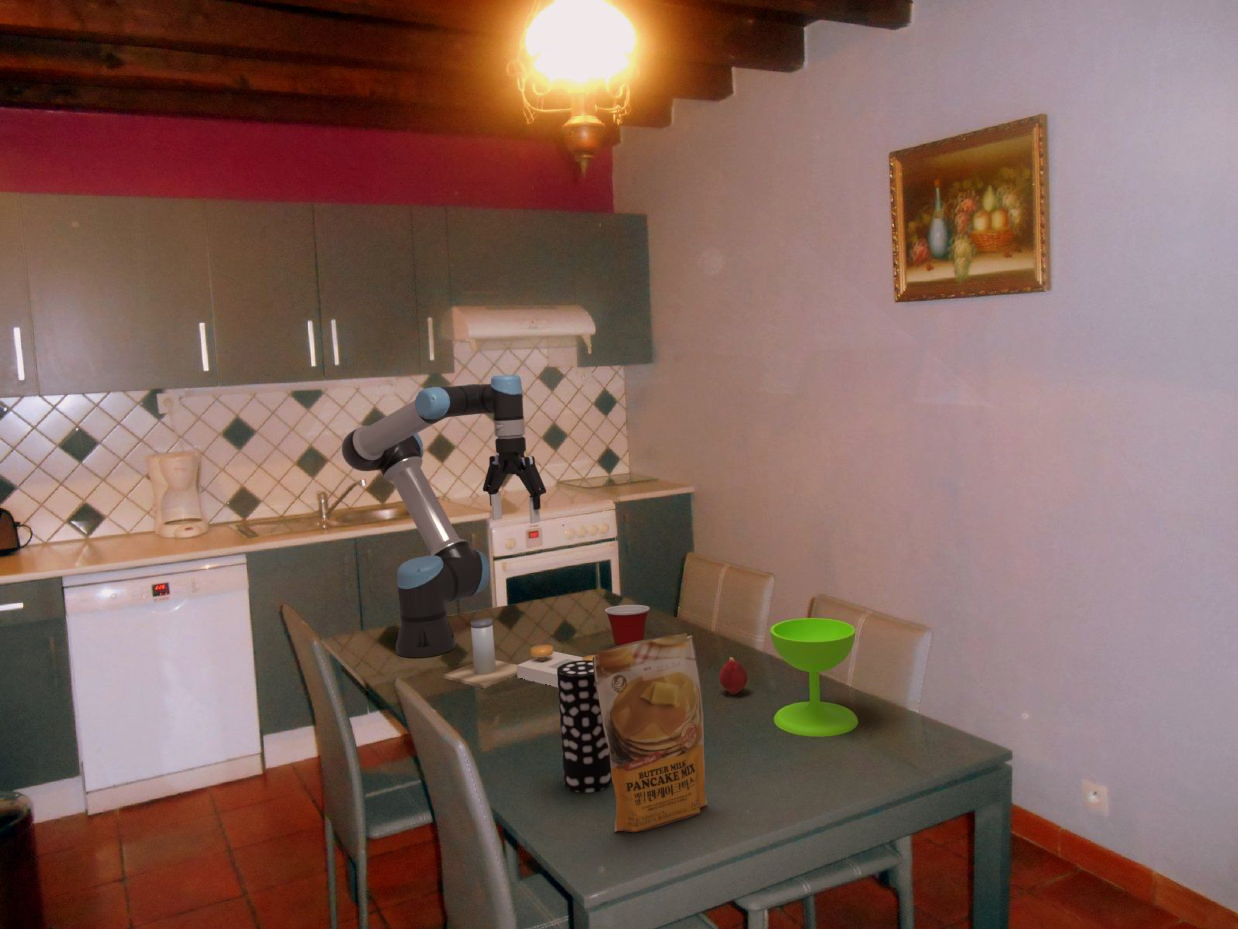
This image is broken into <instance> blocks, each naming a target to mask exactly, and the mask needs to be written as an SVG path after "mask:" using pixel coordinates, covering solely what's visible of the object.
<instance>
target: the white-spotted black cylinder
mask: <svg viewBox="0 0 1238 929" xmlns="http://www.w3.org/2000/svg"><path fill="white" fill-rule="evenodd" d="M557 680H558V687H557V691H558V708H559V726H560V737H561V741H560V742H561V754H562V767H563V768H562V769H563V770H562V771H563V784H564V786H565V788H566V789H568V790H569V791H572V792H576V793H584V794H585V793H594V792H600V791H602V790H604V789H607V788H608V787H609V786H611V785H613V782H612V775H611V764H610V753H609V748H608V744H607V741H606V737H605V733H604V729H603V724H602V718H601V711H600V704H599V697H598V694H597V691H596V686H595V678H594V670H593V660H580V661H573V662H568V663H565V664H563V665H561V666H559V667H558V668H557Z"/></svg>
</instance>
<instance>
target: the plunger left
mask: <svg viewBox="0 0 1238 929" xmlns="http://www.w3.org/2000/svg"><path fill="white" fill-rule="evenodd" d="M553 651H554V646H553V645H550V644H538V645H534V646H531V647H530V656H531V657H534V658H536V657H538V662H542V663H543V662H545V661H547V656H550V655H552V654H553Z"/></svg>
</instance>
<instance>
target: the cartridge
mask: <svg viewBox="0 0 1238 929" xmlns="http://www.w3.org/2000/svg"><path fill="white" fill-rule="evenodd" d="M470 633H471V644H472V657H473V663H474V671H475V673H476V674H479V675H485V674H490V673H493V672H495V671H496V663H495V660H496V652H495V651H496V650H495V640H494V639H495V638H494V627H493V619H492V618H487V617H483V618H482V617H481V618H476V619H473V620H471V621H470Z"/></svg>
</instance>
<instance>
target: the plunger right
mask: <svg viewBox="0 0 1238 929" xmlns="http://www.w3.org/2000/svg"><path fill="white" fill-rule="evenodd" d="M595 655H596V654H591V655H586V656H584V657H583V658H582V660H592V658H593V657H594V656H595Z"/></svg>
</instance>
